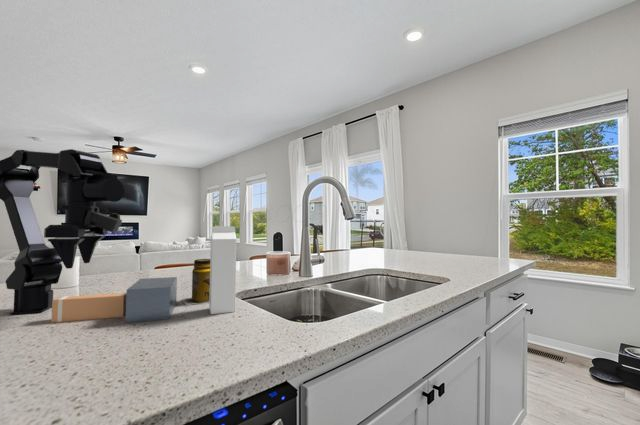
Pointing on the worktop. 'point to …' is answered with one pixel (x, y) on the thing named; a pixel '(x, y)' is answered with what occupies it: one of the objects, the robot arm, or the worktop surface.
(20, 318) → the worktop surface
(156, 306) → the gray block
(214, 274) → the milk
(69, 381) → the worktop surface
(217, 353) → the worktop surface
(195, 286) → the condiment
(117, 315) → the tan banded carton
